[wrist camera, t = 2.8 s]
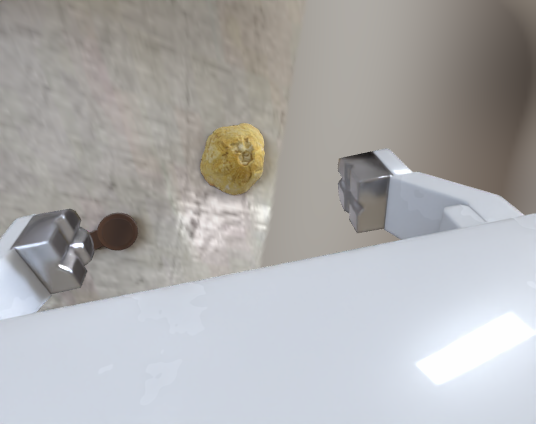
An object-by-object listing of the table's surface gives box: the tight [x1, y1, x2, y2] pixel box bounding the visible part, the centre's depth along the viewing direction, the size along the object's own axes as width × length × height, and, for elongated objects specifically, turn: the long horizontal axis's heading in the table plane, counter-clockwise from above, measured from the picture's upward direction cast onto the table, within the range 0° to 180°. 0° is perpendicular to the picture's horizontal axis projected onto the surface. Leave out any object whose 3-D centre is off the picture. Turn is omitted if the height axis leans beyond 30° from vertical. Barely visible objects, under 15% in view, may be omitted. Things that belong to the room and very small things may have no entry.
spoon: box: [89, 213, 138, 250], centre depth 46 cm, size 19×5×2 cm, turn 110°
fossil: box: [200, 123, 265, 195], centre depth 52 cm, size 11×6×10 cm
